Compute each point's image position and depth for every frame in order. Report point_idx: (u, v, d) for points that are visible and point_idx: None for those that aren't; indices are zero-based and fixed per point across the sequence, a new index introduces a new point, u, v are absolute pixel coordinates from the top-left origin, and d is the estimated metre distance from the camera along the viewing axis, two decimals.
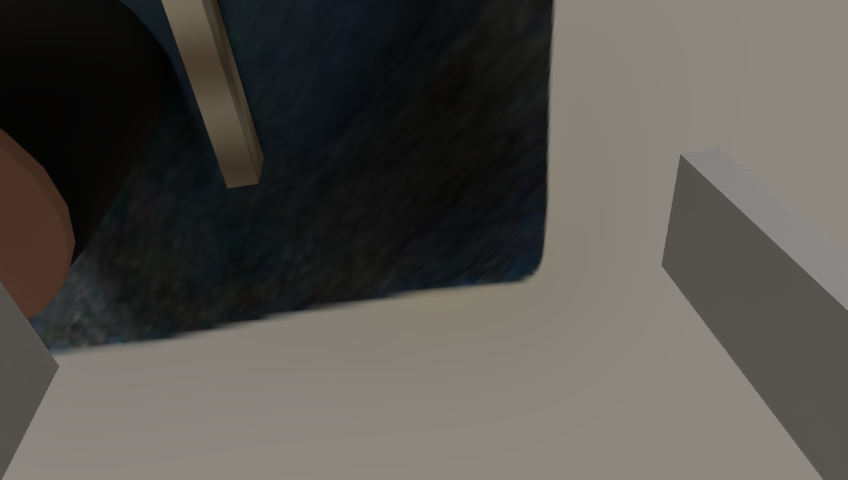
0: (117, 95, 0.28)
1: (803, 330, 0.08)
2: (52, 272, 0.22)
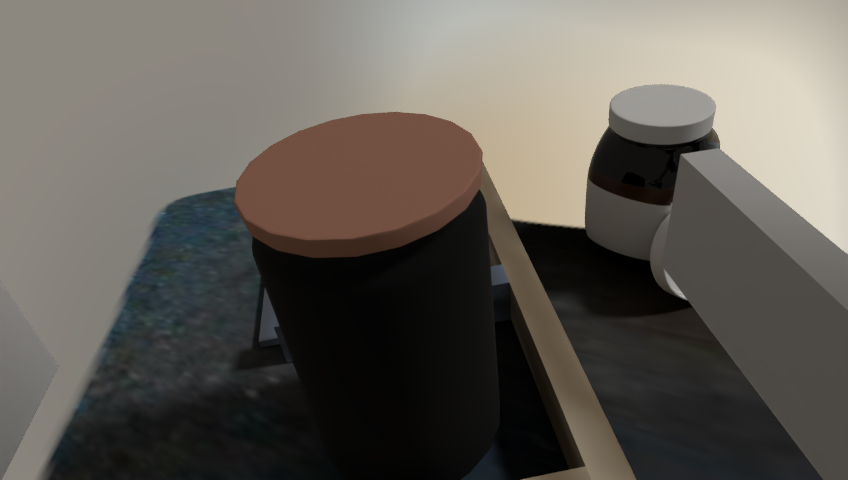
0: (417, 391, 0.26)
1: (803, 330, 0.08)
2: (289, 228, 0.22)
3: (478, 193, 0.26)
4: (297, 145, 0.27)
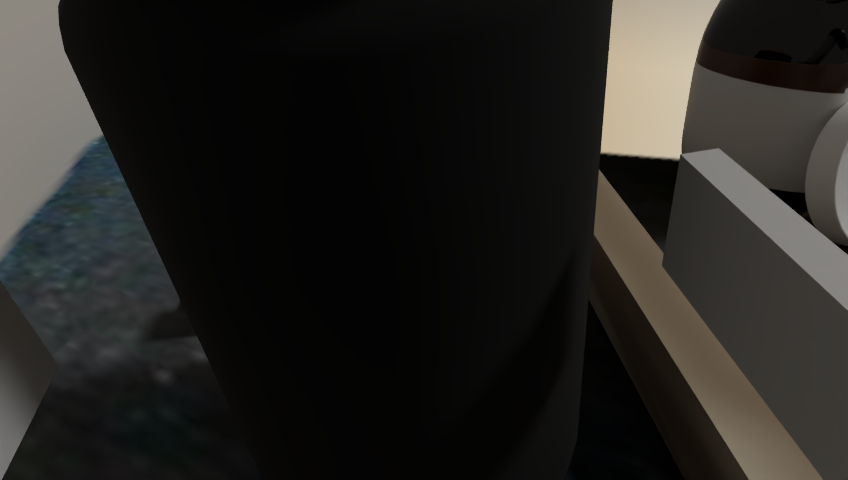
0: (439, 362, 0.11)
1: (803, 330, 0.08)
2: None
3: None
4: None
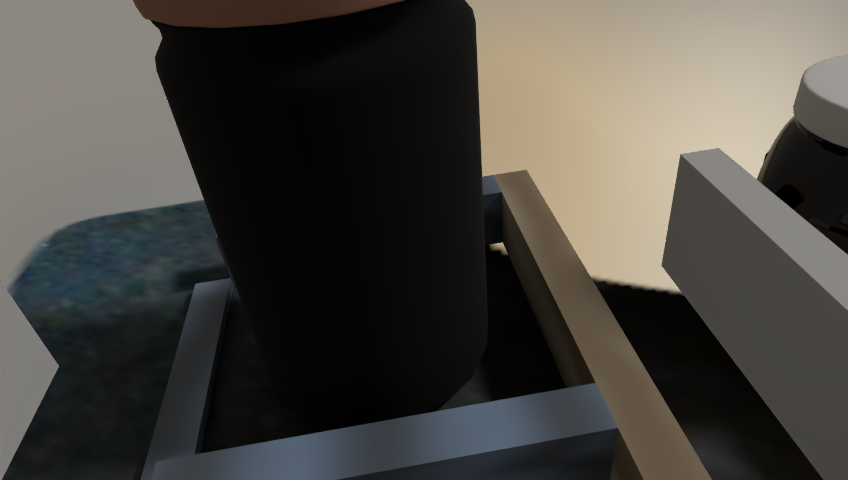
0: (376, 265, 0.19)
1: (803, 330, 0.08)
2: None
3: (465, 2, 0.19)
4: None
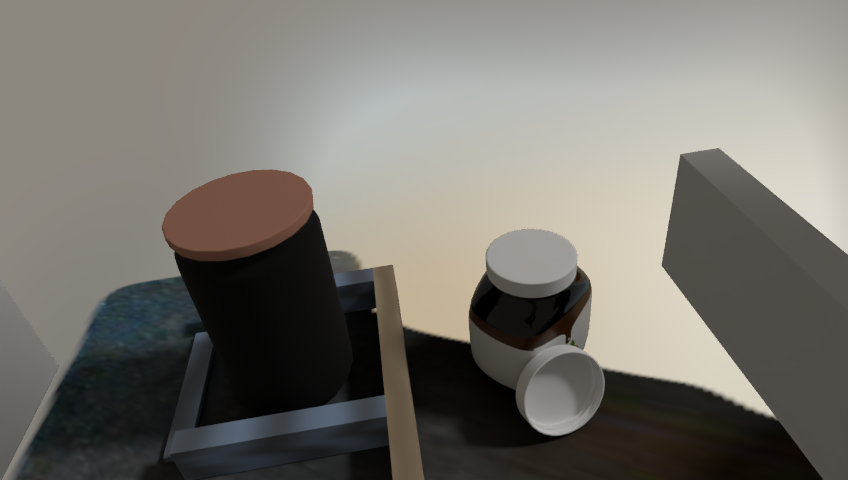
0: (273, 343, 0.43)
1: (803, 330, 0.08)
2: (187, 244, 0.38)
3: (313, 224, 0.43)
4: (207, 191, 0.44)
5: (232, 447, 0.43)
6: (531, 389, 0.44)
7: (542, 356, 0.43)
